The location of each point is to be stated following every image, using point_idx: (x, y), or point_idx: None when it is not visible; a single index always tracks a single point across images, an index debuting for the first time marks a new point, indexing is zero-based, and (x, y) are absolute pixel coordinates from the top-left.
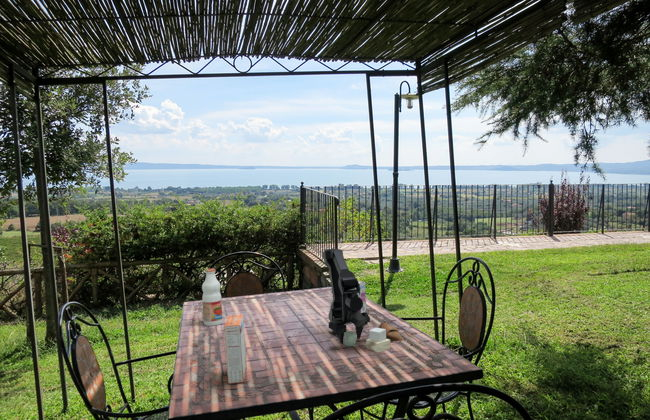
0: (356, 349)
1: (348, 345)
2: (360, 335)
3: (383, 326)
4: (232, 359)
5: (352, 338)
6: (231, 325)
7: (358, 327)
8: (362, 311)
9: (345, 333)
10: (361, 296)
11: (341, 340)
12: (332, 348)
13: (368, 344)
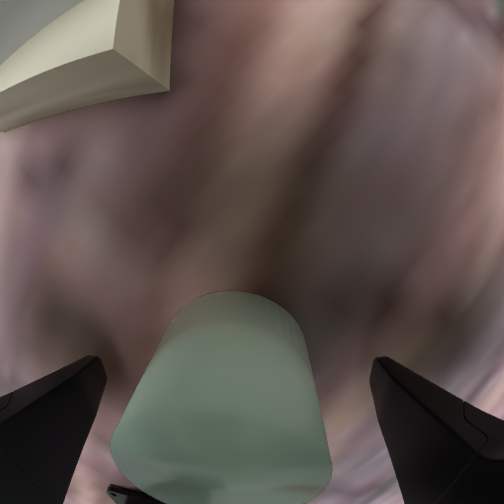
0: (308, 144)
1: (299, 327)
2: (57, 374)
3: None
4: None
5: (249, 354)
6: None
7: (22, 472)
8: None
9: (309, 491)
10: None
11: (427, 383)
12: (451, 359)
13: (149, 20)
